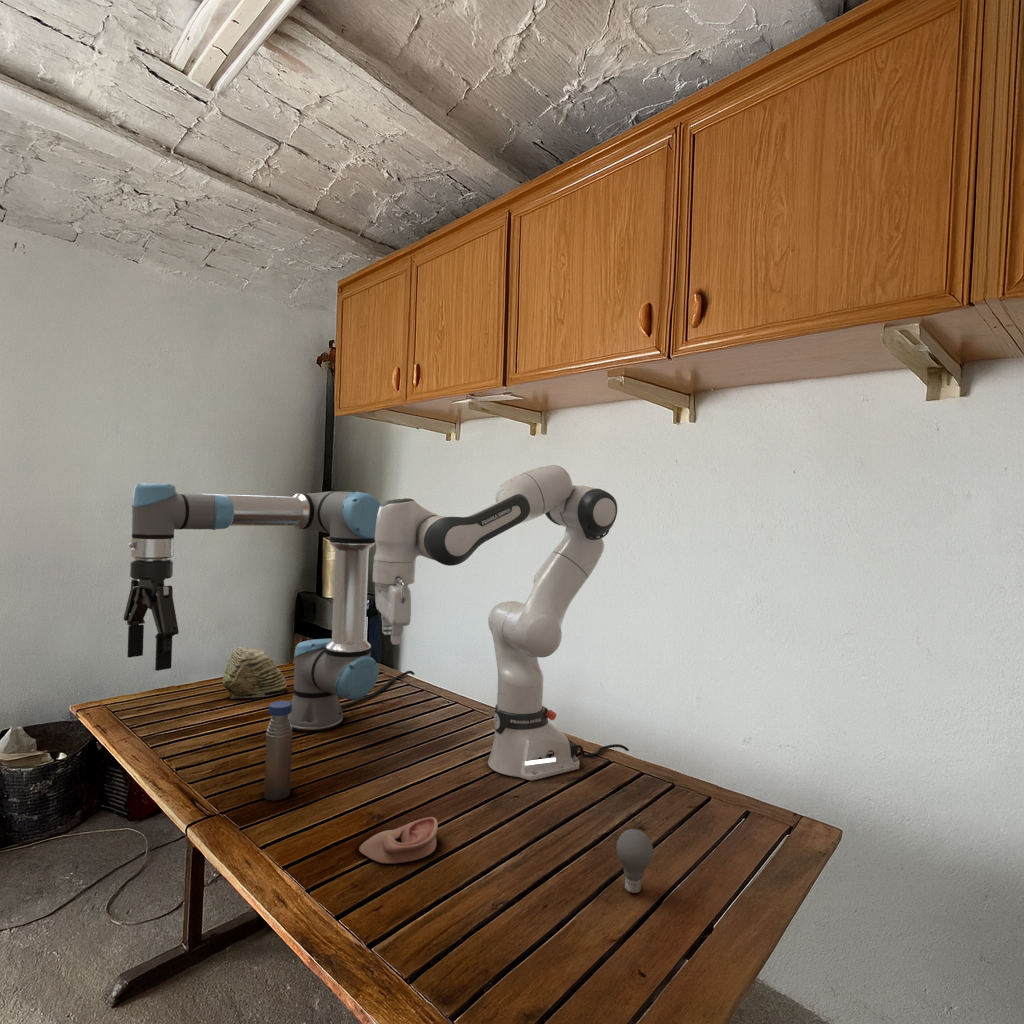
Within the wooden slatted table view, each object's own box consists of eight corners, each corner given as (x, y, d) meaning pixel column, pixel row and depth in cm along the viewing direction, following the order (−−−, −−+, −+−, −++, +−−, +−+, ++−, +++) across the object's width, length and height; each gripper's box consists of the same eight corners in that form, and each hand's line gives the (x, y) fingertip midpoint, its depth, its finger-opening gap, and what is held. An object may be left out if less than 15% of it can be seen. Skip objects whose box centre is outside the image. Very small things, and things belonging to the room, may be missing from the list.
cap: (296, 711, 135) (296, 702, 135) (281, 717, 131) (281, 709, 131) (279, 707, 136) (279, 699, 136) (264, 714, 132) (264, 705, 132)
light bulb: (610, 879, 108) (613, 822, 108) (644, 879, 109) (647, 822, 109) (619, 902, 102) (622, 840, 102) (655, 901, 103) (658, 840, 103)
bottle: (295, 792, 135) (298, 704, 135) (278, 802, 131) (282, 711, 130) (275, 787, 137) (279, 700, 137) (258, 797, 132) (261, 707, 132)
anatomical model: (352, 836, 111) (378, 805, 123) (351, 858, 111) (377, 826, 123) (423, 847, 109) (444, 815, 120) (422, 870, 109) (443, 836, 120)
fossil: (218, 695, 195) (220, 647, 195) (278, 685, 208) (279, 640, 207) (228, 703, 189) (230, 653, 188) (289, 692, 201) (290, 645, 201)
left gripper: (108, 554, 134) (104, 654, 134) (159, 565, 118) (155, 678, 119) (146, 552, 140) (143, 648, 140) (199, 563, 124) (195, 671, 124)
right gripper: (420, 580, 127) (416, 649, 127) (399, 568, 145) (396, 628, 146) (388, 580, 124) (385, 650, 124) (371, 568, 143) (368, 629, 143)
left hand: (148, 662), depth 129 cm, fingers open, 13 cm apart
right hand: (390, 638), depth 135 cm, fingers open, 8 cm apart
